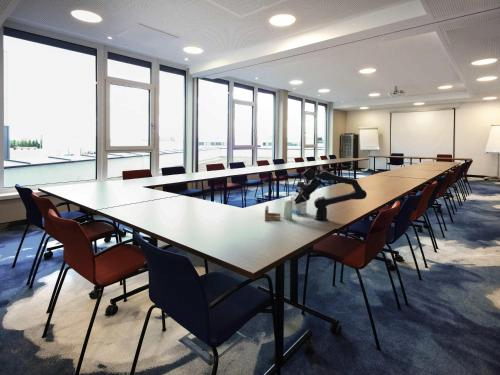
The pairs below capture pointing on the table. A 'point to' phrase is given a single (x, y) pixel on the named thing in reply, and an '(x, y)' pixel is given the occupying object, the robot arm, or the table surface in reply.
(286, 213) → the pale green tapered cylinder
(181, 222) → the table surface
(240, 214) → the table surface
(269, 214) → the holder
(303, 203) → the ink box
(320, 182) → the robot arm
